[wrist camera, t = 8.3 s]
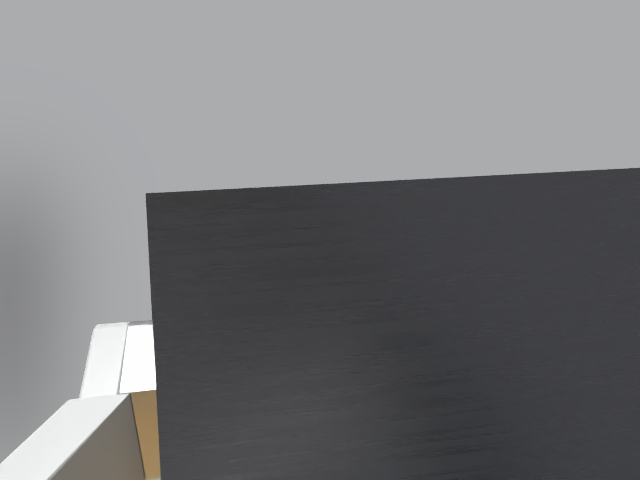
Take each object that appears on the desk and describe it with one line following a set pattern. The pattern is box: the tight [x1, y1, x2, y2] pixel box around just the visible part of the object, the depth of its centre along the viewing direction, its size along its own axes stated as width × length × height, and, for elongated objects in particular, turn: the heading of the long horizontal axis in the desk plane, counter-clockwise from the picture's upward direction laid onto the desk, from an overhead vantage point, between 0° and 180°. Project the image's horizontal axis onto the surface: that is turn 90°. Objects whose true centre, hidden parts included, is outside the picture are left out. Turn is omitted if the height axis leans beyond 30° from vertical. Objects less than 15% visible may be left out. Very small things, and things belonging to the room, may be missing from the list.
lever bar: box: [146, 168, 640, 480], centre depth 16 cm, size 24×4×4 cm, turn 10°
